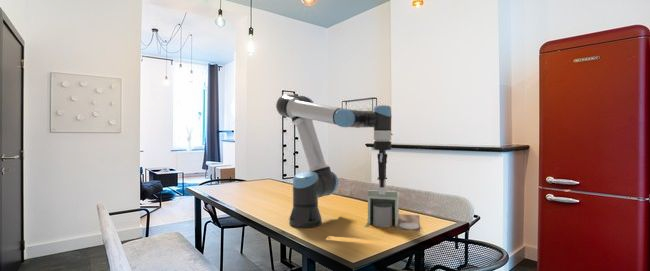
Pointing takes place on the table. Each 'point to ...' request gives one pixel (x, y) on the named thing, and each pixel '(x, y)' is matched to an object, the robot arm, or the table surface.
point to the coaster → (409, 225)
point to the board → (404, 219)
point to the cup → (382, 215)
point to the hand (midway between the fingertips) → (382, 194)
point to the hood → (388, 198)
